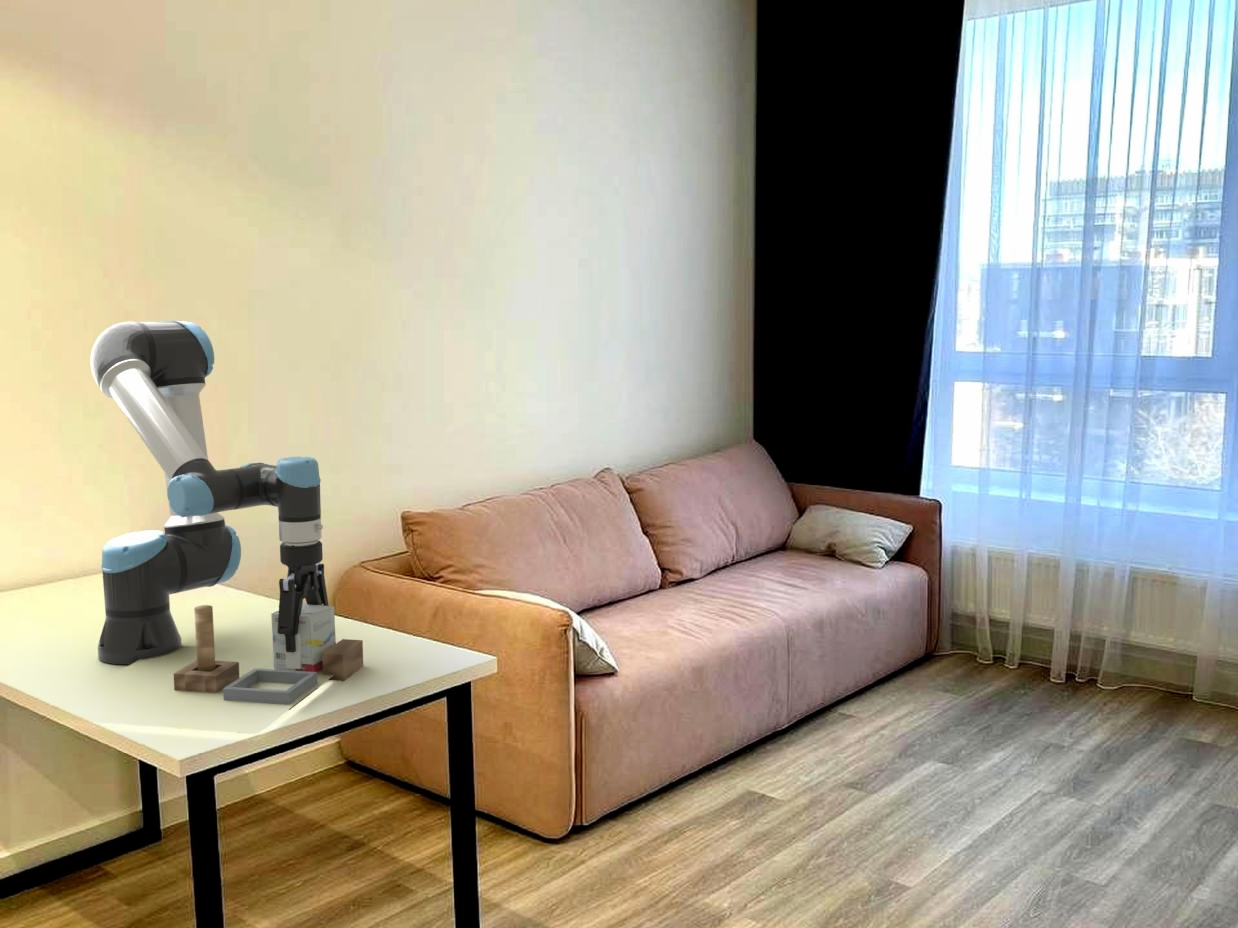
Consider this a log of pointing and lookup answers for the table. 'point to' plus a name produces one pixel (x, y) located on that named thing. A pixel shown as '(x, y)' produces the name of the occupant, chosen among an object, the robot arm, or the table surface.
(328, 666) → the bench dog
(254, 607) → the table surface
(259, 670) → the tray
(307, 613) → the ink box
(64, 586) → the table surface
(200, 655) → the dowel
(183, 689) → the socket block
